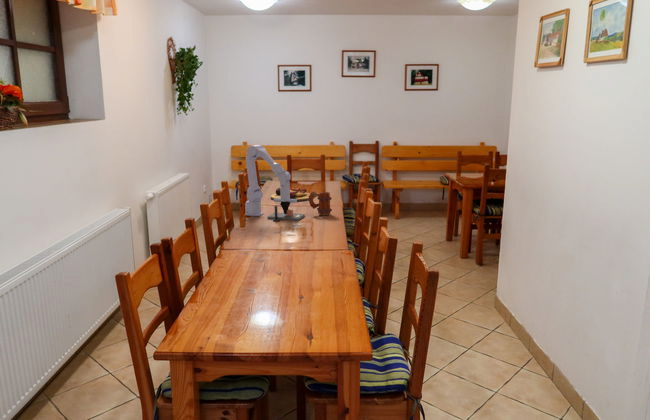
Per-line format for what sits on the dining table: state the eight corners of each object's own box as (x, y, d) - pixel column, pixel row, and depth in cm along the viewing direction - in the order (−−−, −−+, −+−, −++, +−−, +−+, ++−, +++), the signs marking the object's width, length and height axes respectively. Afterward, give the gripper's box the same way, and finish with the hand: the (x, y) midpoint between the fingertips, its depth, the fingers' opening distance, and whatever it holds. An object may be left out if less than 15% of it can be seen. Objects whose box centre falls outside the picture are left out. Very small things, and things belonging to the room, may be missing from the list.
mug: (332, 213, 324) (332, 190, 321) (331, 216, 316) (331, 192, 313) (309, 213, 326) (309, 190, 322) (308, 216, 318) (307, 192, 314)
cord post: (271, 221, 305) (271, 206, 303) (274, 219, 309) (274, 205, 307) (278, 221, 304) (277, 206, 302) (280, 220, 307) (280, 205, 306)
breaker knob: (286, 215, 312) (286, 210, 311) (288, 214, 314) (288, 209, 314) (291, 216, 311) (291, 210, 310) (293, 215, 314) (293, 209, 313)
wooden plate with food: (308, 203, 359) (307, 191, 358) (264, 201, 366) (264, 189, 364) (318, 195, 390) (318, 185, 388) (278, 194, 396) (278, 183, 395)
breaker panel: (267, 218, 311) (267, 216, 311) (274, 214, 322) (274, 212, 322) (298, 220, 305) (298, 218, 305) (304, 216, 317) (304, 214, 316)
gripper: (271, 192, 309) (272, 214, 312) (294, 193, 305) (294, 215, 308) (275, 190, 315) (276, 212, 318) (297, 191, 311) (298, 213, 314)
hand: (285, 213), depth 313 cm, fingers closed
